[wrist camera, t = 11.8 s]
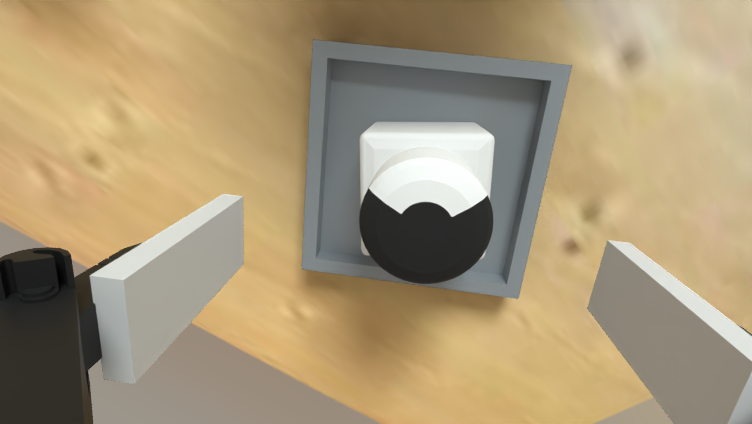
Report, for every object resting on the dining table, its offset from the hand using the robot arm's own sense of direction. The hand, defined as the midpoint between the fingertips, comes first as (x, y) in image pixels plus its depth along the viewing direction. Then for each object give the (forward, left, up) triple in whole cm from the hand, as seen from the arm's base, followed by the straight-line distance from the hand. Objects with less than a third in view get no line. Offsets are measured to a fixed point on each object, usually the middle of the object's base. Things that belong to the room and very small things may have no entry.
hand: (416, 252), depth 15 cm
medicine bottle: (0, 0, -15) cm, 15 cm away
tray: (0, 0, -16) cm, 16 cm away
